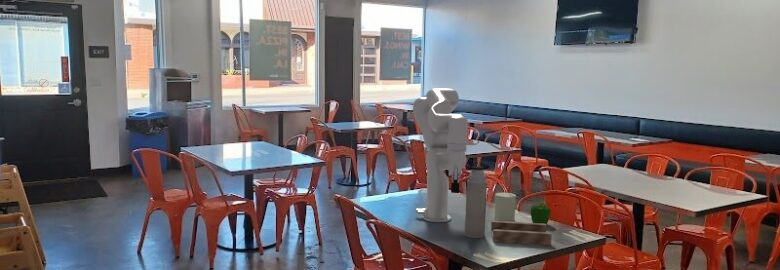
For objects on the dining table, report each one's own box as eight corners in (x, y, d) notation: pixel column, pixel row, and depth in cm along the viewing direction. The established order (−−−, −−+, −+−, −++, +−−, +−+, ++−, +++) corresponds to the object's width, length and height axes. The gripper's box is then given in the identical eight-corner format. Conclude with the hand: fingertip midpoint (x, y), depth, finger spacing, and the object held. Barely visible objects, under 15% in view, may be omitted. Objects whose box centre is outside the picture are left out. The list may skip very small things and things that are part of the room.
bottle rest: (493, 241, 231) (493, 230, 230) (490, 231, 246) (491, 220, 245) (550, 245, 229) (551, 234, 228) (545, 234, 243) (545, 223, 243)
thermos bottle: (484, 233, 242) (488, 165, 239) (483, 239, 234) (487, 169, 231) (465, 231, 244) (468, 164, 240) (463, 237, 236) (466, 167, 233)
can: (510, 224, 258) (511, 197, 257) (490, 220, 263) (491, 194, 261) (517, 219, 266) (519, 193, 264) (498, 216, 271) (499, 190, 269)
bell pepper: (527, 221, 263) (528, 199, 262) (545, 221, 264) (546, 199, 263) (533, 226, 255) (535, 203, 254) (552, 226, 256) (553, 203, 255)
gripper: (447, 144, 244) (446, 188, 246) (446, 149, 229) (445, 196, 231) (466, 145, 243) (464, 189, 245) (466, 150, 228) (464, 197, 230)
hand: (455, 192), depth 238 cm, fingers closed
